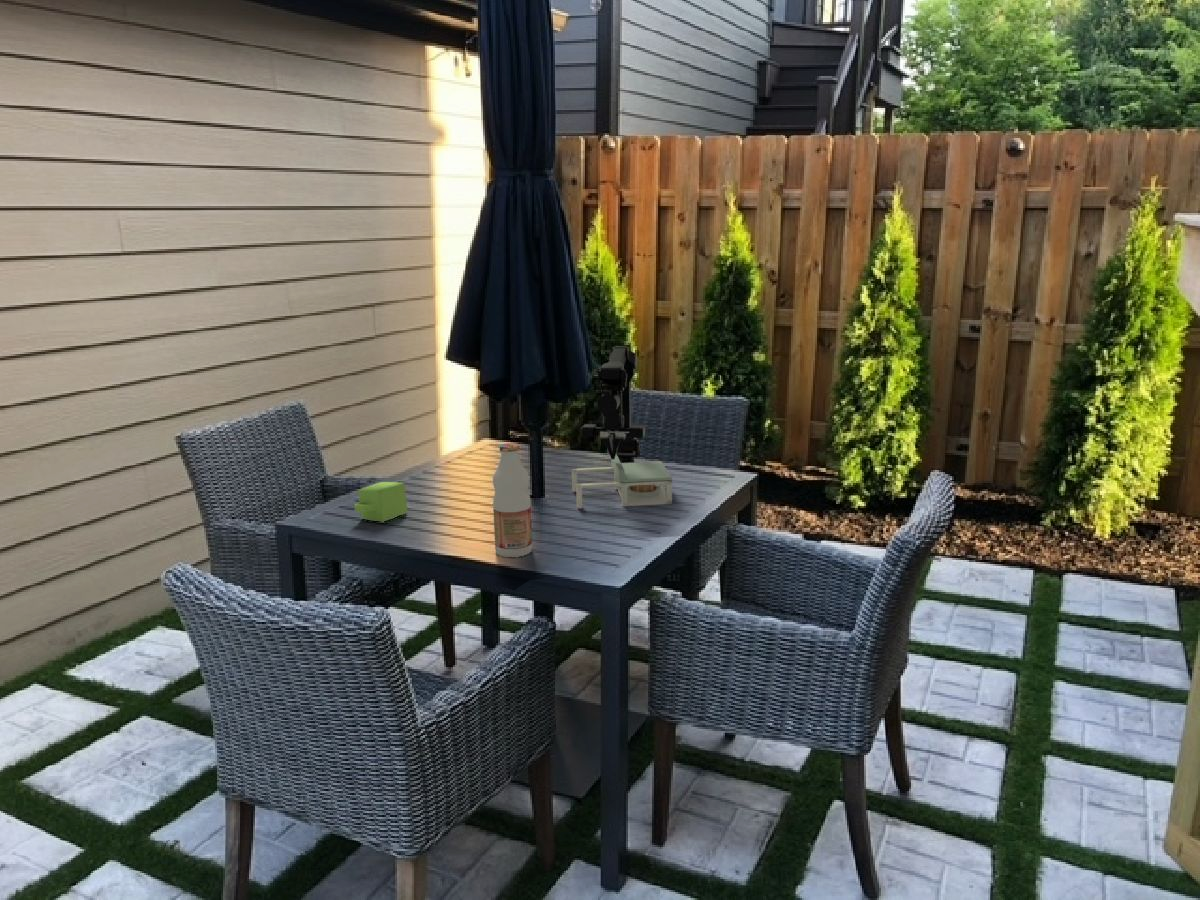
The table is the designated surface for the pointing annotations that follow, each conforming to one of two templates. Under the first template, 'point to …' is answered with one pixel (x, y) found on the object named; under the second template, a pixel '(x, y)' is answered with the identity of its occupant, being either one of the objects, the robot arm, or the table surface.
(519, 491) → the fruit juice
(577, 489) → the housing
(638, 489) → the gear hub
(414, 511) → the table surface
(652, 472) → the sliding lid
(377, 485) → the gearbox
